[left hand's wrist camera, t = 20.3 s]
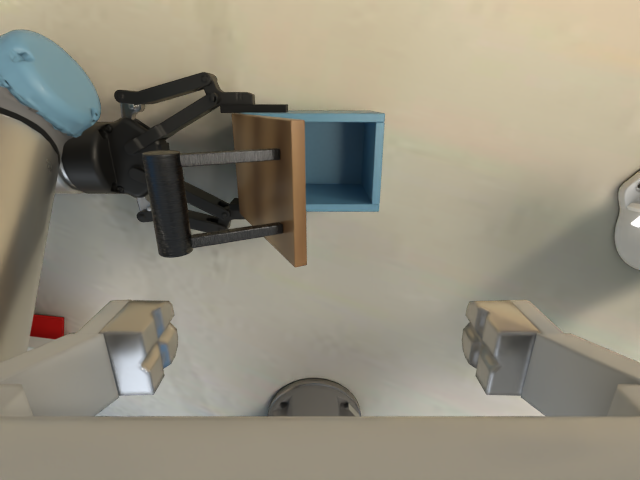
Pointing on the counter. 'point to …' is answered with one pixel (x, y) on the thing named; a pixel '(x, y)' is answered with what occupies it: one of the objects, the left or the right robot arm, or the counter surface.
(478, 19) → the counter surface
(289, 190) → the lid
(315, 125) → the chest
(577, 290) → the counter surface
